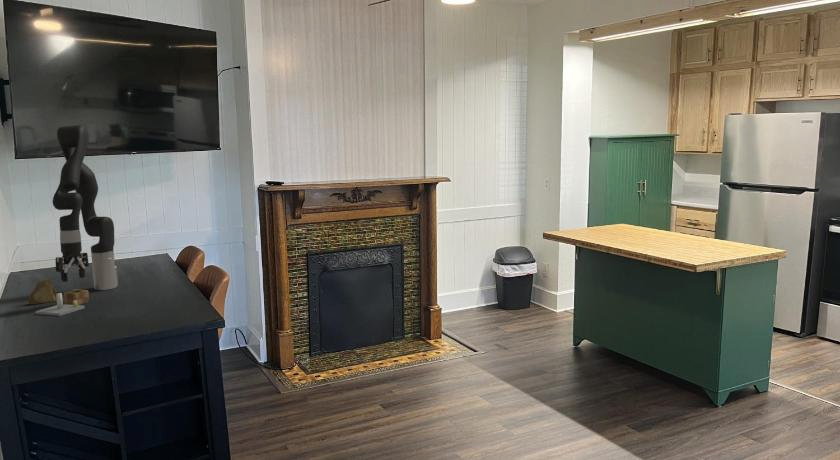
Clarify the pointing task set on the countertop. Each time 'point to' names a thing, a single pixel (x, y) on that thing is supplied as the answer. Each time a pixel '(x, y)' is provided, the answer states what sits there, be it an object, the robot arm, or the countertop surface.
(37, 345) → the countertop surface
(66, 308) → the post board
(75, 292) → the wooden square frame
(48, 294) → the rock
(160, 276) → the countertop surface
